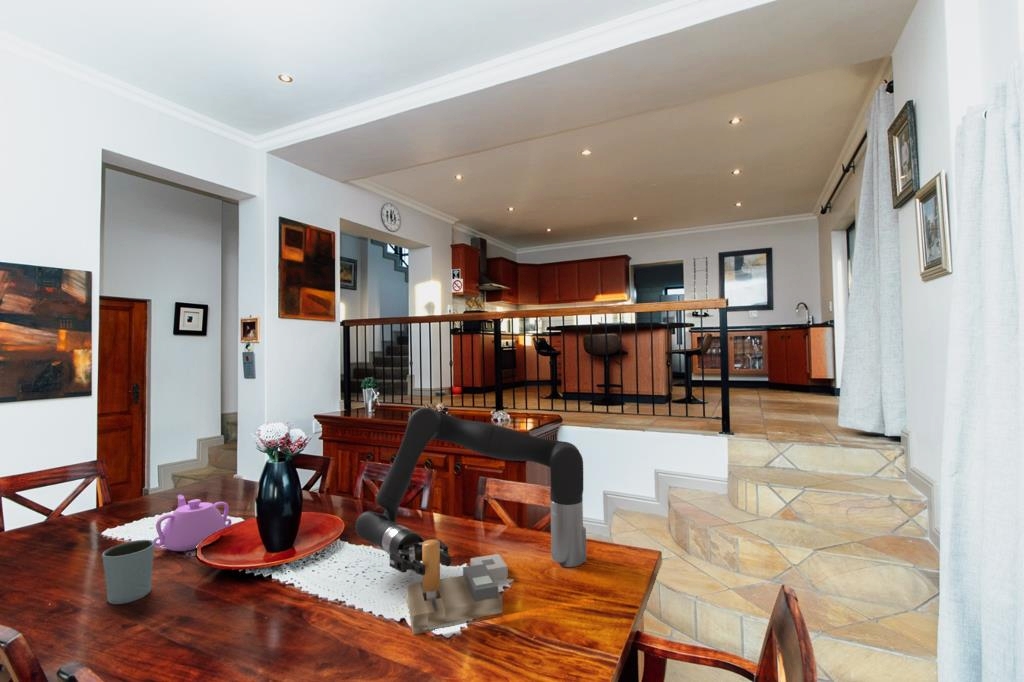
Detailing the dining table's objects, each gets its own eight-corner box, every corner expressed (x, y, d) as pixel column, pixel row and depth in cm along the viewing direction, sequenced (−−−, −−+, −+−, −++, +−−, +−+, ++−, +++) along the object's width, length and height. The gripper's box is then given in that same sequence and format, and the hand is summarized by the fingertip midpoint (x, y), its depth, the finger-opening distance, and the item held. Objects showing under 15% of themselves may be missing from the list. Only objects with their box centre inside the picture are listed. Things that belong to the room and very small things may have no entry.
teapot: (214, 524, 166) (214, 485, 167) (242, 538, 154) (242, 496, 154) (137, 546, 148) (138, 502, 149) (163, 563, 136) (163, 515, 136)
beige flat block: (486, 587, 119) (486, 571, 119) (502, 616, 106) (502, 598, 106) (406, 601, 113) (406, 584, 113) (413, 634, 99) (413, 615, 100)
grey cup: (163, 589, 121) (163, 542, 121) (119, 609, 111) (119, 558, 111) (136, 583, 124) (137, 537, 124) (91, 602, 114) (92, 553, 115)
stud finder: (484, 573, 118) (484, 563, 118) (498, 597, 107) (497, 585, 107) (463, 577, 116) (463, 566, 116) (474, 601, 105) (474, 589, 105)
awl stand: (498, 568, 129) (498, 553, 130) (507, 581, 122) (507, 566, 122) (470, 573, 127) (470, 558, 127) (477, 587, 119) (477, 571, 119)
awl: (438, 602, 110) (438, 538, 110) (441, 611, 106) (441, 545, 107) (421, 605, 109) (421, 540, 109) (423, 614, 105) (423, 547, 105)
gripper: (375, 536, 114) (408, 559, 101) (427, 522, 124) (463, 541, 111) (375, 567, 114) (408, 593, 101) (427, 550, 123) (463, 572, 111)
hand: (436, 566), depth 106 cm, fingers open, 6 cm apart
